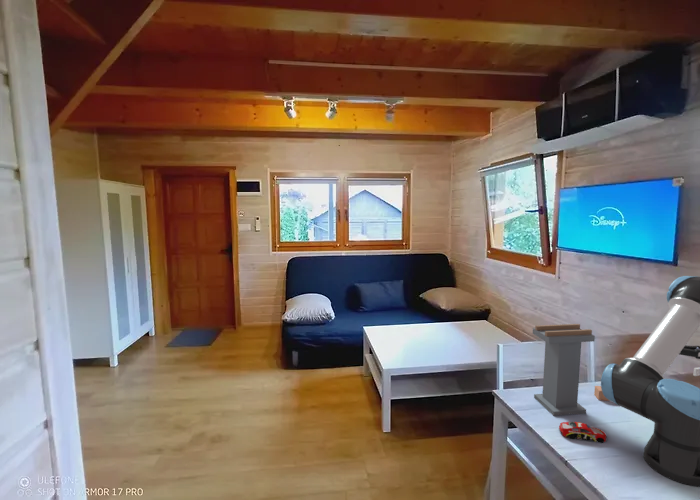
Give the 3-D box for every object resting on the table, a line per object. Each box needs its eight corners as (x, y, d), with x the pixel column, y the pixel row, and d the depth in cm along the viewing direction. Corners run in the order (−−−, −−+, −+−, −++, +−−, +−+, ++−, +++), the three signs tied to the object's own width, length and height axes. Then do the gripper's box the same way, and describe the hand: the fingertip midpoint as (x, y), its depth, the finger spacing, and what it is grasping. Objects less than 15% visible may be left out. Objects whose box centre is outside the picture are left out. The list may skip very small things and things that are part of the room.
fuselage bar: (672, 402, 140) (673, 392, 140) (679, 408, 136) (680, 398, 136) (594, 395, 146) (594, 385, 146) (598, 400, 142) (599, 390, 142)
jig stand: (569, 395, 145) (573, 321, 141) (591, 413, 133) (597, 332, 130) (527, 398, 144) (531, 323, 140) (546, 416, 132) (551, 334, 128)
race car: (603, 435, 122) (604, 423, 121) (609, 445, 116) (610, 433, 116) (557, 428, 125) (558, 416, 125) (561, 438, 120) (562, 426, 120)
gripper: (765, 382, 131) (709, 390, 129) (693, 348, 155) (645, 355, 153) (768, 362, 129) (712, 370, 127) (695, 331, 153) (647, 338, 151)
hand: (676, 362), depth 140 cm, fingers open, 13 cm apart
